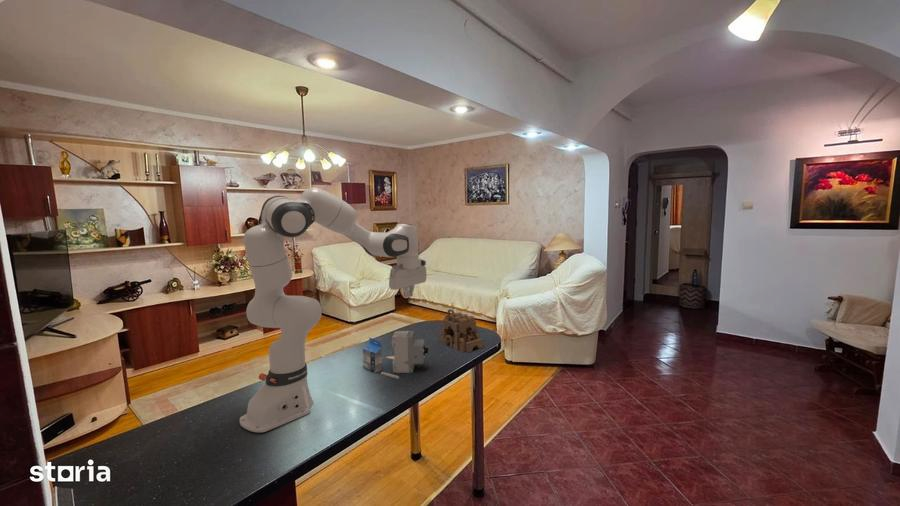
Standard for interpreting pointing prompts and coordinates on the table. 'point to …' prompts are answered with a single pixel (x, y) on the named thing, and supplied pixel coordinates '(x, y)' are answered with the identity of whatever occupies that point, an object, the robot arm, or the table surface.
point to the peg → (390, 375)
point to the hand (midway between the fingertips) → (409, 296)
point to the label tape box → (373, 356)
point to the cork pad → (391, 357)
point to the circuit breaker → (407, 351)
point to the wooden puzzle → (460, 332)
